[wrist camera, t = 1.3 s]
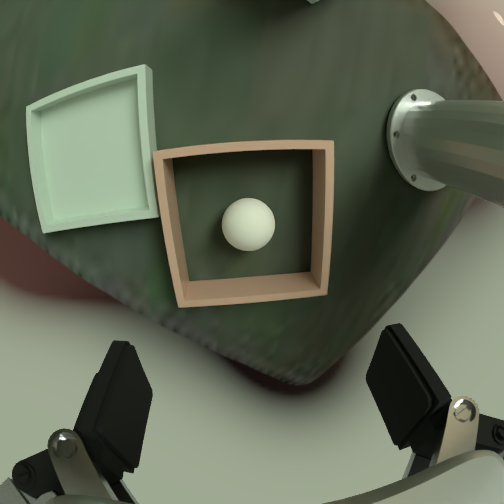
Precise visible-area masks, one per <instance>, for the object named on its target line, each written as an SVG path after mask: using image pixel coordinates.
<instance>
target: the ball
mask: <svg viewBox="0 0 504 504" xmlns="http://www.w3.org/2000/svg"><path fill="white" fill-rule="evenodd" d="M274 229H275V220H274V216H273V214H272V212H271V210H270V209H269V207H268V206H267V205H266V204H264V203H263V202H261V201H259V200H257V199H253V198H244V199H240V200H237V201H235V202H234V203H232V204H231V205H230V206H229V207H228V208H227V210H226V211H225V213H224V215H223V219H222V230H223V234H224V236H225V238H226V239H227V241H228V242H229V243H230V244H231V245H232V246H234V247H235V248H237V249H240V250H243V251H253V250H257V249H260V248H261V247H263V246H264V245H266V244H267V243H268V242H269V240H270V239H271V237H272V235H273V233H274Z"/></svg>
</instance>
